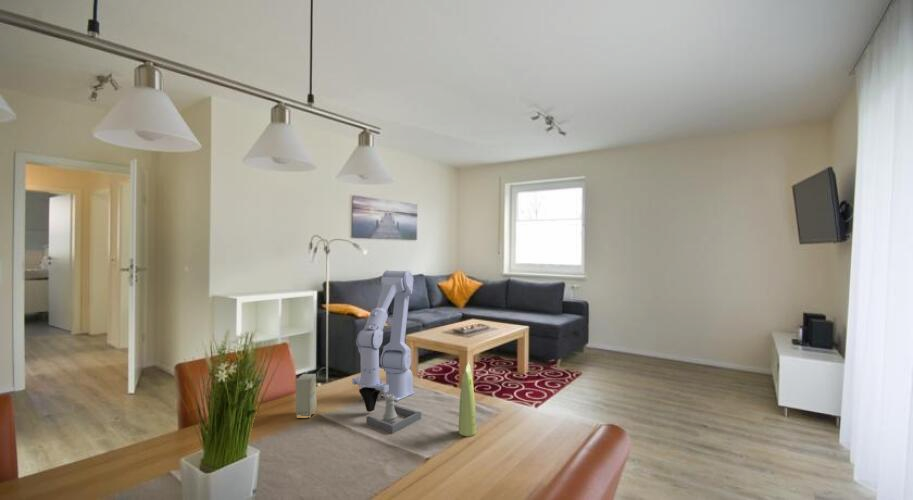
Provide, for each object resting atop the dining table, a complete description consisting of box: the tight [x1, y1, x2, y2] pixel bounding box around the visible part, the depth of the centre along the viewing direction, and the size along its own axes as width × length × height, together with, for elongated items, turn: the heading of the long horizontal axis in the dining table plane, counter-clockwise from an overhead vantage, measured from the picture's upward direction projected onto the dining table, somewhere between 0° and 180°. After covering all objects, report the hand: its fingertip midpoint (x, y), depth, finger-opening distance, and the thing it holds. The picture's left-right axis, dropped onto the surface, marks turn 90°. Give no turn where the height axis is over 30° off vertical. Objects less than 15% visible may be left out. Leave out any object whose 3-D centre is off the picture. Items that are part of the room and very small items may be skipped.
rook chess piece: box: [382, 393, 398, 424], centre depth 127 cm, size 4×4×8 cm
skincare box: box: [295, 373, 318, 416], centre depth 132 cm, size 6×4×12 cm
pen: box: [365, 404, 422, 434], centre depth 127 cm, size 12×11×2 cm
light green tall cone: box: [458, 360, 477, 437], centre depth 118 cm, size 6×5×20 cm
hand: (370, 410), depth 133 cm, fingers closed
